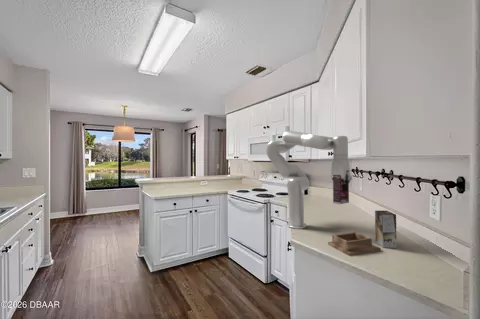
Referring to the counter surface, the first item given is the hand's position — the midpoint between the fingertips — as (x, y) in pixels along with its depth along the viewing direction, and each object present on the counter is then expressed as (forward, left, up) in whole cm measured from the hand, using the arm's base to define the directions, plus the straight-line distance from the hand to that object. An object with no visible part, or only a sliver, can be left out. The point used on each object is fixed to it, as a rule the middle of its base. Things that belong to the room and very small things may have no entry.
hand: (341, 190), depth 126 cm
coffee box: (+17, +11, -26) cm, 33 cm away
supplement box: (0, 0, -7) cm, 7 cm away
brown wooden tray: (+15, -7, -25) cm, 31 cm away
